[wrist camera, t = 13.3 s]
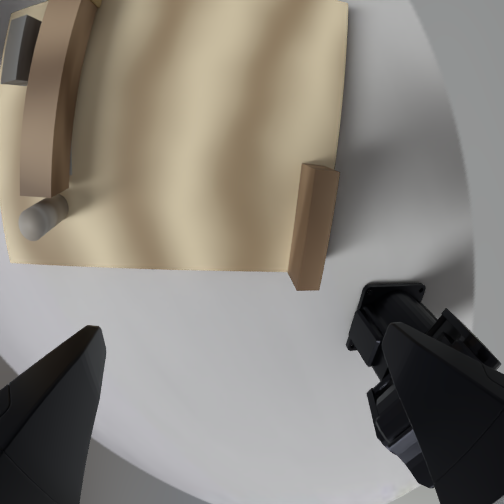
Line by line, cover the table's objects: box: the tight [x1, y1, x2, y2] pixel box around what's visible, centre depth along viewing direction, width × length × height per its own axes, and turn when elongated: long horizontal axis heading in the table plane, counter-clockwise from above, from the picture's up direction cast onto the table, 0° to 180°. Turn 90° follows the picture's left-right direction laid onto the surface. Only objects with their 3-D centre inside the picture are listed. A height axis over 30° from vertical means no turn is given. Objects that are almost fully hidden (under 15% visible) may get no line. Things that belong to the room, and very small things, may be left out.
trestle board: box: [0, 0, 348, 291], centre depth 14 cm, size 22×18×5 cm
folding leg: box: [20, 0, 102, 198], centre depth 12 cm, size 12×2×3 cm, turn 170°
